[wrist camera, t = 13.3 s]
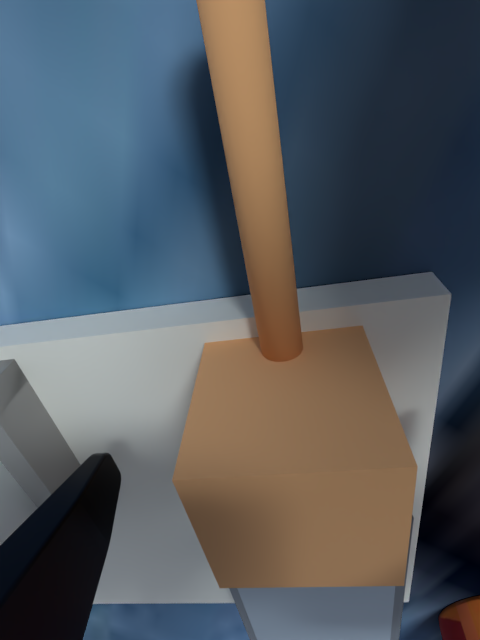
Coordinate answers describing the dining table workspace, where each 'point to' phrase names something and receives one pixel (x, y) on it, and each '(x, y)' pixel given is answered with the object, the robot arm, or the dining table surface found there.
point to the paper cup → (461, 620)
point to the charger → (12, 504)
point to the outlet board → (186, 410)
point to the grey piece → (322, 611)
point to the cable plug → (285, 383)
